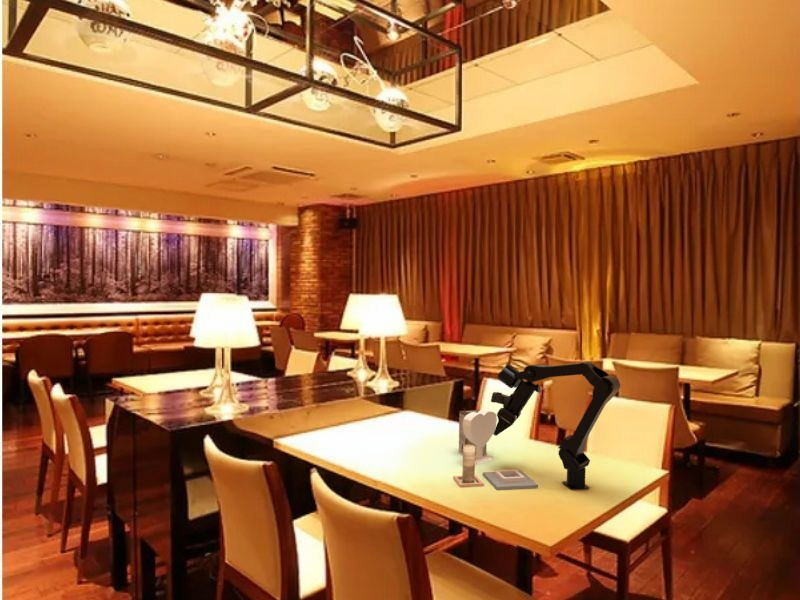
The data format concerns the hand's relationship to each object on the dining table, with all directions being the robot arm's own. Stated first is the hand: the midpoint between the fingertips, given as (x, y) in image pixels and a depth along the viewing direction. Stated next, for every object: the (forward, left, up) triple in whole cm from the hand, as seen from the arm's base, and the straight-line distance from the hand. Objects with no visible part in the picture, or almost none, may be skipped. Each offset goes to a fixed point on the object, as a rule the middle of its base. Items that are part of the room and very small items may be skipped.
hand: (496, 432), depth 201 cm
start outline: (-10, +13, -13) cm, 21 cm away
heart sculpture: (+12, +2, -14) cm, 18 cm away
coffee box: (+20, +2, -14) cm, 25 cm away
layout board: (-11, -1, -13) cm, 17 cm away
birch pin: (-10, +13, -13) cm, 21 cm away
